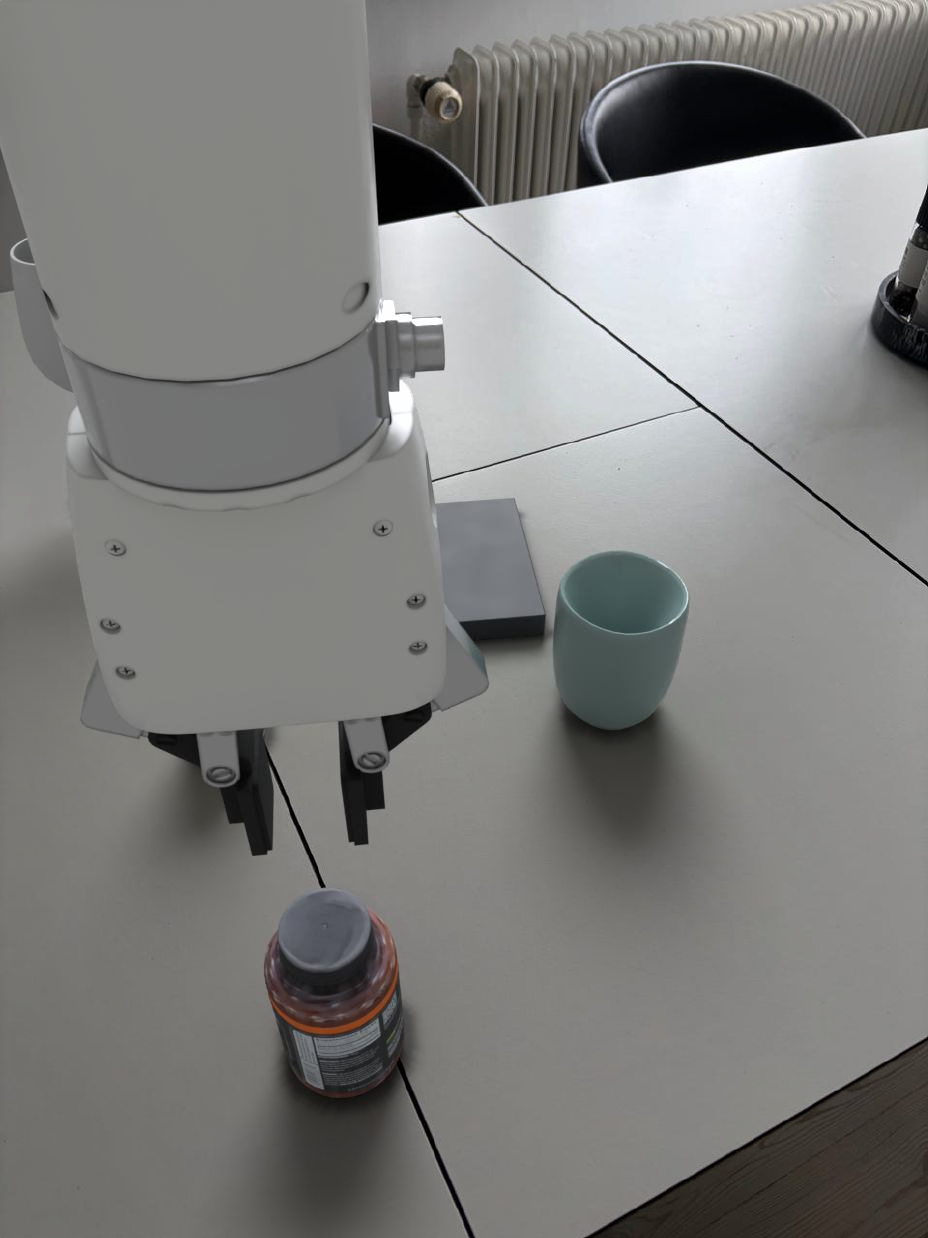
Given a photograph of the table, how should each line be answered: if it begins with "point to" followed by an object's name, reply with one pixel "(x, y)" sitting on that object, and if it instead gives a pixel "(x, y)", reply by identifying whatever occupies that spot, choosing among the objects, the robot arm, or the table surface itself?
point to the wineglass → (36, 317)
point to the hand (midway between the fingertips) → (310, 815)
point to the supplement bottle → (335, 993)
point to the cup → (617, 637)
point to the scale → (488, 569)
